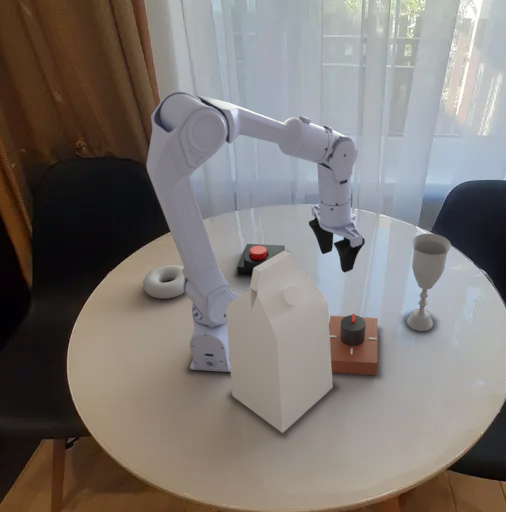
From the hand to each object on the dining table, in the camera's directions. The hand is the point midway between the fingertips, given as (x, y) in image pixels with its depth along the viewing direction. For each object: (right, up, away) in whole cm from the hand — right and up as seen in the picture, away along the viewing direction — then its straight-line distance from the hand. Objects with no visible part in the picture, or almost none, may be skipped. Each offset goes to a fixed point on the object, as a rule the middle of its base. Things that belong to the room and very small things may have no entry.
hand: (336, 260), depth 96 cm
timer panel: (+3, -17, -6) cm, 18 cm away
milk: (-9, -23, -15) cm, 29 cm away
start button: (-17, +2, +12) cm, 21 cm away
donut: (-36, -5, +9) cm, 37 cm away
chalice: (+16, -12, 0) cm, 21 cm away
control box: (-17, 0, +16) cm, 24 cm away
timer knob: (+3, -14, -8) cm, 17 cm away
